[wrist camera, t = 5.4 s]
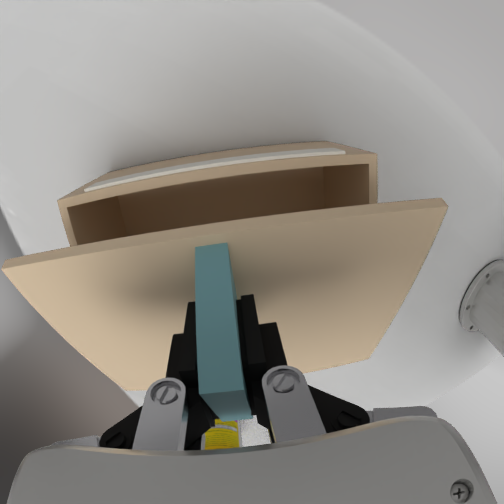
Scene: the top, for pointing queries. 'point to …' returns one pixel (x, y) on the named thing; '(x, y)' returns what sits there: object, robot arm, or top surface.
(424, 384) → the top surface
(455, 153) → the top surface
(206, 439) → the supplement bottle
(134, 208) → the carton
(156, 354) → the lid
